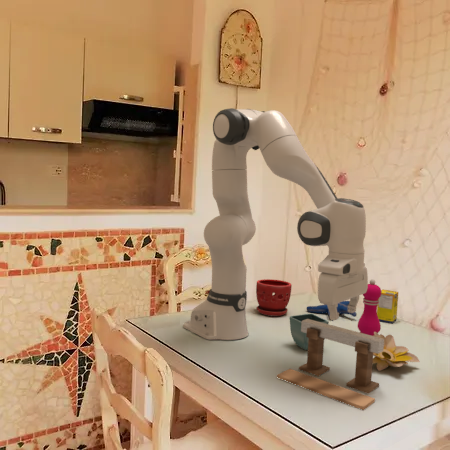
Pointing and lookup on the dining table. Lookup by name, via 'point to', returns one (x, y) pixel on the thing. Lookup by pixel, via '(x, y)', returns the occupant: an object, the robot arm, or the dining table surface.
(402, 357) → the decorative flower
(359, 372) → the walnut post
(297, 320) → the flower pot
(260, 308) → the plant pot
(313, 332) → the walnut post
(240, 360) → the dining table surface
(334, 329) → the steel rail
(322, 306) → the starfish
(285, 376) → the light wood flat board
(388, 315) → the supplement box
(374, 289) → the pepper mill
